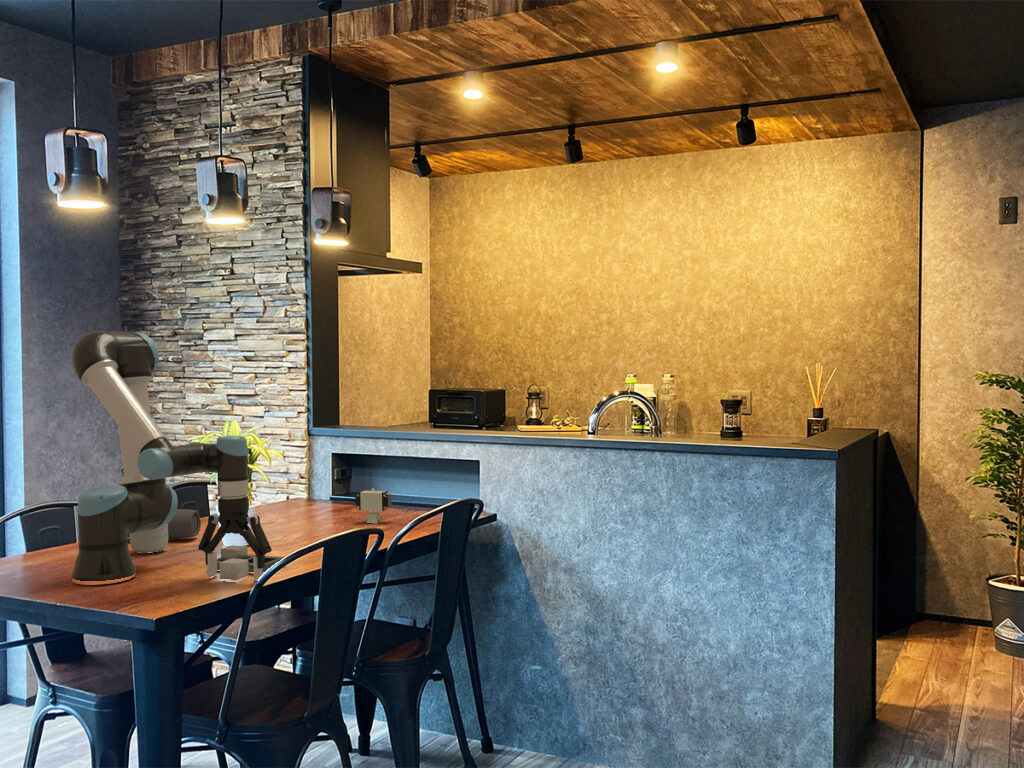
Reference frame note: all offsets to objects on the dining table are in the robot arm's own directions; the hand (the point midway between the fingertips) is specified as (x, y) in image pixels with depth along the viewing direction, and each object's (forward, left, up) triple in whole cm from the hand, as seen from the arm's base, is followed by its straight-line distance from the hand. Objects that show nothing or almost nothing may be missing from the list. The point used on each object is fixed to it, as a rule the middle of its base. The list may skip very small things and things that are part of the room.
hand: (235, 579), depth 235 cm
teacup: (+24, +46, 0) cm, 52 cm away
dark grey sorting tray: (+12, +5, 0) cm, 13 cm away
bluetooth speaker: (+39, +55, 0) cm, 68 cm away
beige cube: (0, 0, 0) cm, 0 cm away
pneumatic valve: (+85, +4, 0) cm, 85 cm away
